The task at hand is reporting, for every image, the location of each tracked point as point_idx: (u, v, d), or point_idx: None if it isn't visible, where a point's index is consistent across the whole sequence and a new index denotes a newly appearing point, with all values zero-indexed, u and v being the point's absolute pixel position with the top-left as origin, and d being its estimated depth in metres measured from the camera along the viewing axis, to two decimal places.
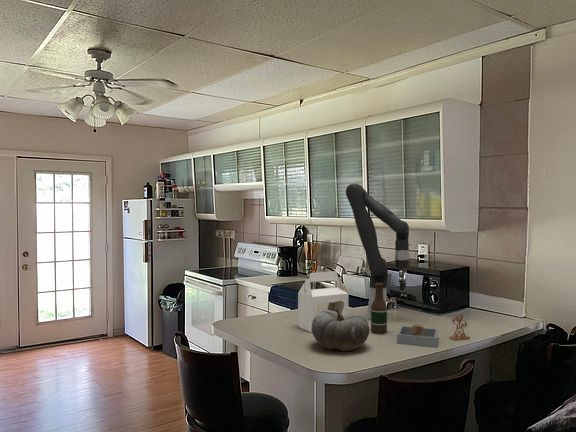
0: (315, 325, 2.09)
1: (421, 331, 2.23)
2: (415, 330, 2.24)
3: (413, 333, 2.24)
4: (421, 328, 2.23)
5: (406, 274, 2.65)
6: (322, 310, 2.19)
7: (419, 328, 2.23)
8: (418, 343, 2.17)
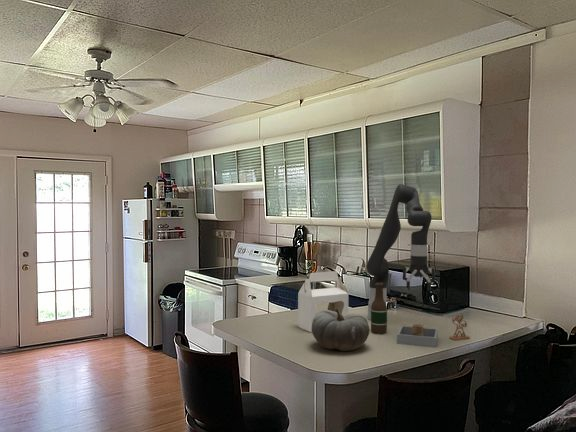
0: (315, 325, 2.09)
1: (421, 331, 2.23)
2: (415, 330, 2.24)
3: (413, 333, 2.24)
4: (421, 328, 2.23)
5: None
6: (322, 310, 2.19)
7: (419, 328, 2.23)
8: (418, 343, 2.17)
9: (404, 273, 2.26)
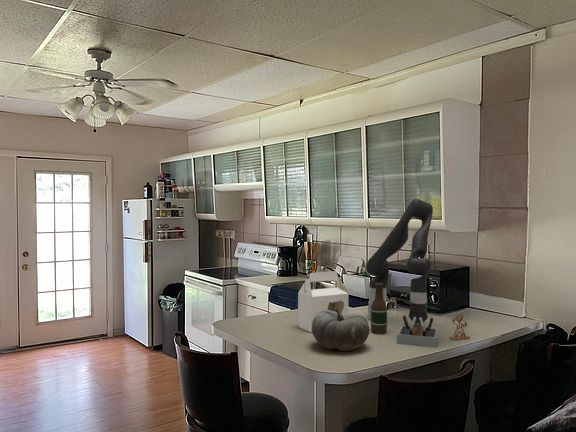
0: (315, 325, 2.09)
1: (421, 331, 2.23)
2: (415, 330, 2.24)
3: (413, 333, 2.24)
4: (421, 328, 2.23)
5: None
6: (322, 310, 2.19)
7: (419, 328, 2.23)
8: (418, 343, 2.17)
9: (405, 322, 2.26)
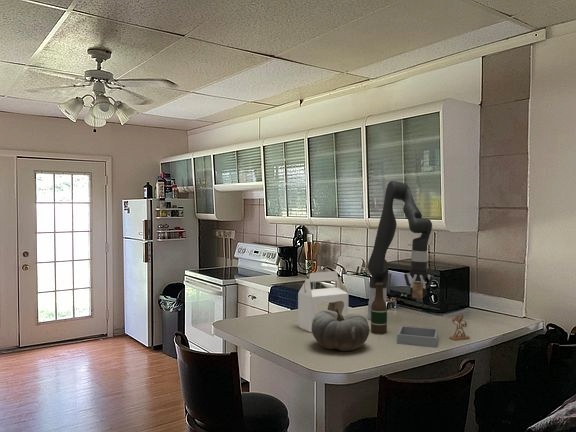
0: (315, 325, 2.09)
1: (421, 288, 2.33)
2: (415, 287, 2.34)
3: (413, 290, 2.34)
4: (421, 285, 2.33)
5: None
6: (322, 310, 2.19)
7: (419, 285, 2.33)
8: (418, 343, 2.17)
9: (406, 279, 2.37)
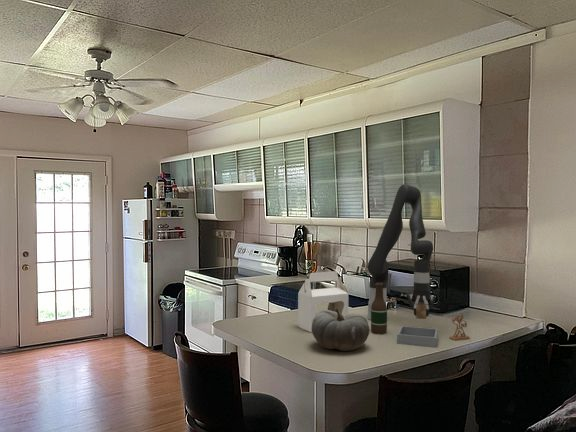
0: (315, 325, 2.09)
1: (424, 309, 2.38)
2: (418, 308, 2.39)
3: (417, 311, 2.39)
4: (424, 306, 2.38)
5: None
6: (322, 310, 2.19)
7: (422, 306, 2.38)
8: (418, 343, 2.17)
9: (410, 301, 2.41)
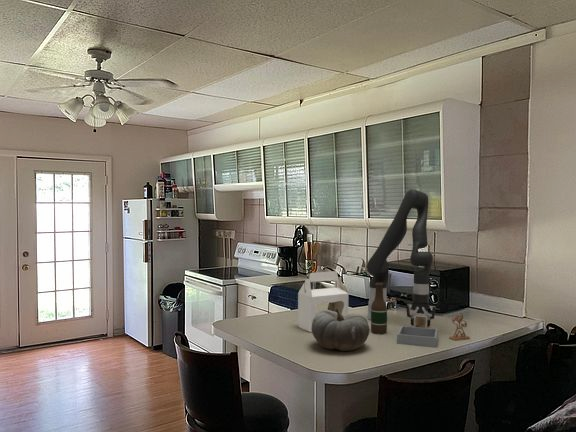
0: (315, 325, 2.09)
1: (423, 323, 2.38)
2: (417, 322, 2.39)
3: (416, 325, 2.39)
4: (423, 320, 2.38)
5: (414, 310, 2.43)
6: (322, 310, 2.19)
7: (421, 320, 2.38)
8: (418, 343, 2.17)
9: (408, 310, 2.41)
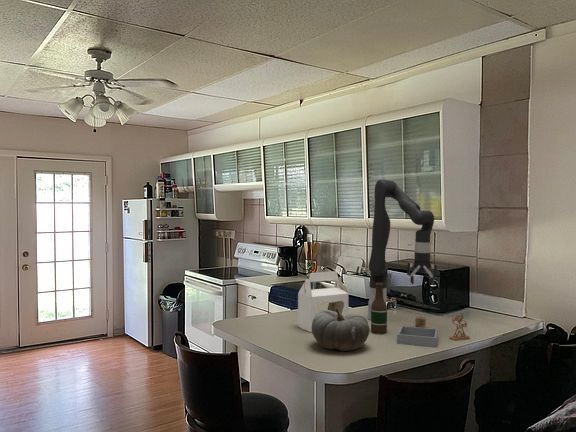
0: (315, 325, 2.09)
1: (423, 323, 2.38)
2: (417, 322, 2.39)
3: (416, 325, 2.39)
4: (423, 320, 2.38)
5: None
6: (322, 310, 2.19)
7: (421, 320, 2.38)
8: (418, 343, 2.17)
9: (408, 268, 2.42)
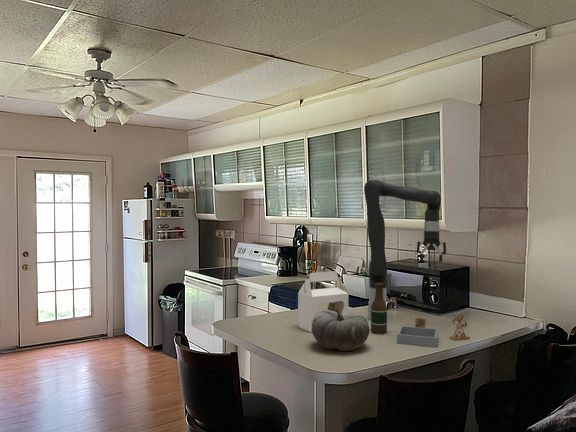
0: (315, 325, 2.09)
1: (423, 323, 2.38)
2: (417, 322, 2.39)
3: (416, 325, 2.39)
4: (423, 320, 2.38)
5: None
6: (322, 310, 2.19)
7: (421, 320, 2.38)
8: (418, 343, 2.17)
9: (418, 247, 2.51)
